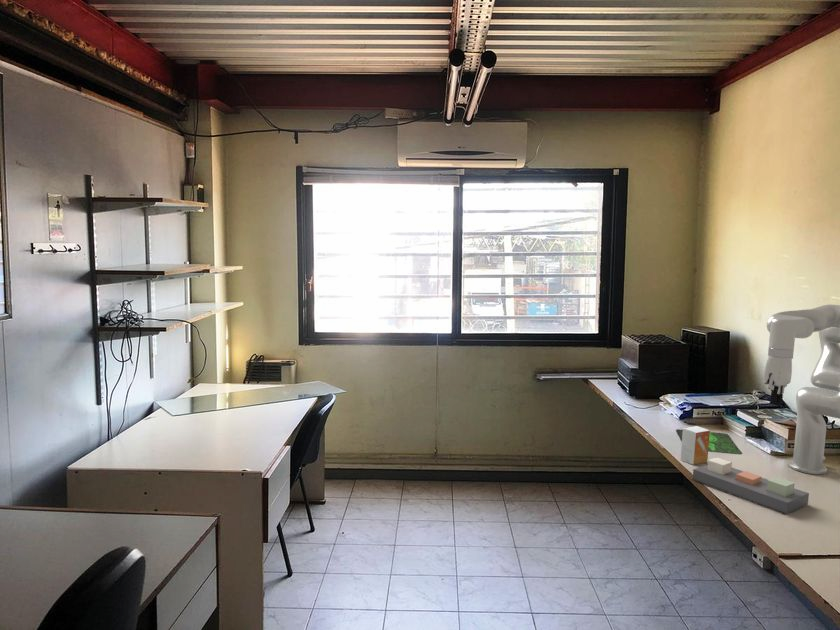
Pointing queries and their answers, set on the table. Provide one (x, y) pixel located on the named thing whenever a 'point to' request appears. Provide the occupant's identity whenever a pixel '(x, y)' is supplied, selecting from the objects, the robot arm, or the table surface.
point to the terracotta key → (748, 478)
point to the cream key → (719, 466)
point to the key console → (751, 490)
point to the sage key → (781, 486)
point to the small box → (695, 445)
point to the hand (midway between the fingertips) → (775, 404)
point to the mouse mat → (718, 443)
